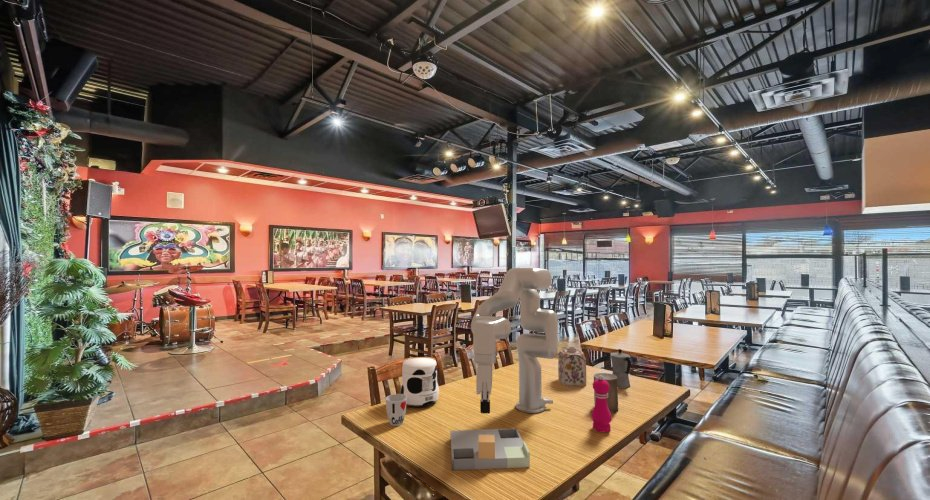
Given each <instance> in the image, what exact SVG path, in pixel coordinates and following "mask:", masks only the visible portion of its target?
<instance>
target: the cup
mask: <svg viewBox="0 0 930 500" xmlns="http://www.w3.org/2000/svg"><path fill="white" fill-rule="evenodd" d="M406 400H407V396H406V395H403V394H400V393H396V394H395V393H394V394H390V395H387V396H386V397H385V410H386V414H387V420H388V423H389V425H390V426H392V427H398V426H401V425H403V423H404V421H405V417H406V412H407V410H406V409H407V405H406Z"/></svg>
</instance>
